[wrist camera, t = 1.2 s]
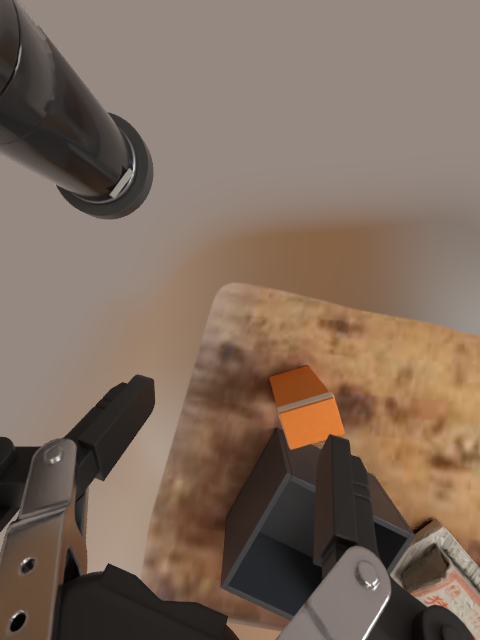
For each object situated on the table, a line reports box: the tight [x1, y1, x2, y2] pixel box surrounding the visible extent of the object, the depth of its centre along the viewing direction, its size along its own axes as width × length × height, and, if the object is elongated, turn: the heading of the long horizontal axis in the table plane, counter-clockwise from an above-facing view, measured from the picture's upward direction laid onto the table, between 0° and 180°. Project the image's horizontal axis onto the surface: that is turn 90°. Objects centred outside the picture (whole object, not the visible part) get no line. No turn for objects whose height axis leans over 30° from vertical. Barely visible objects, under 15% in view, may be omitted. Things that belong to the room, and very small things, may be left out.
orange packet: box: [269, 365, 345, 450], centre depth 29 cm, size 5×4×10 cm
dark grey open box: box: [221, 428, 415, 621], centre depth 31 cm, size 14×14×8 cm
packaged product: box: [390, 519, 480, 640], centre depth 34 cm, size 18×5×10 cm
